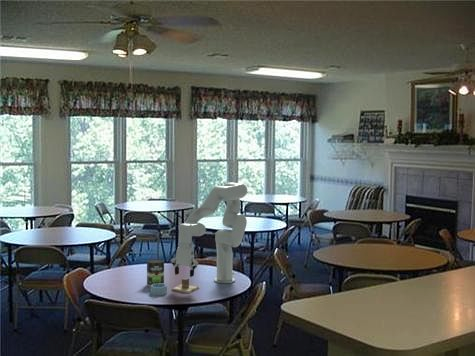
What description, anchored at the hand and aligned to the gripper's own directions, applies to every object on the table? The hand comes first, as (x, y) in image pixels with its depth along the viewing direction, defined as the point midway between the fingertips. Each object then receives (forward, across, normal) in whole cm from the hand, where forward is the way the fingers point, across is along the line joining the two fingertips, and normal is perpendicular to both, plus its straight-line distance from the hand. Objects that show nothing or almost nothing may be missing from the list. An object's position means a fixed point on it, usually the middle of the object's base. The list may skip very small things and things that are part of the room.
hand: (184, 275), depth 321 cm
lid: (+8, 0, -1) cm, 8 cm away
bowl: (+9, +10, +11) cm, 17 cm away
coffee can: (+9, +22, -4) cm, 24 cm away
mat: (+9, 0, -1) cm, 9 cm away
